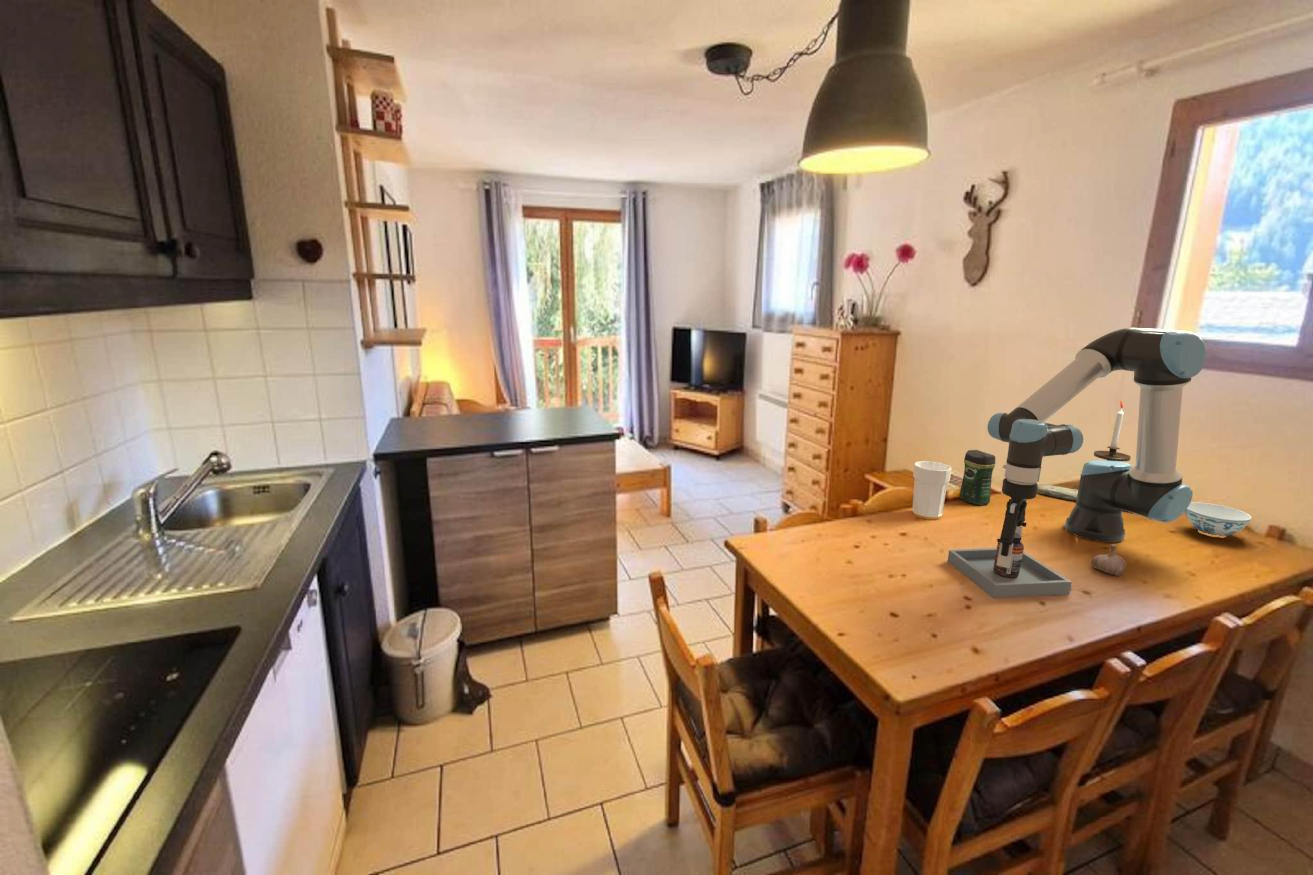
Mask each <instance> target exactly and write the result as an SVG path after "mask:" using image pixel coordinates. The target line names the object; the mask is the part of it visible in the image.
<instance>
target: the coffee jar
mask: <svg viewBox="0 0 1313 875" xmlns="http://www.w3.org/2000/svg"><path fill="white" fill-rule="evenodd" d="M963 461H964V463H963V464H964V471H963V476H962V480H961V481H962V482H961V486H960V490H959V498H960V500H962V501H965V502H967V503H968V504H969V503H970V504H973V505H978V506H979V505H980V506H985V505H988V504H990V502H991V491H992V479H993V478H992V477H993V471H994V469H995V466H996V456H995V454H991V453H987V452H985V451H981V450H978V449H969V450H967V451H966V453H965V456H964V460H963Z"/></svg>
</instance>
